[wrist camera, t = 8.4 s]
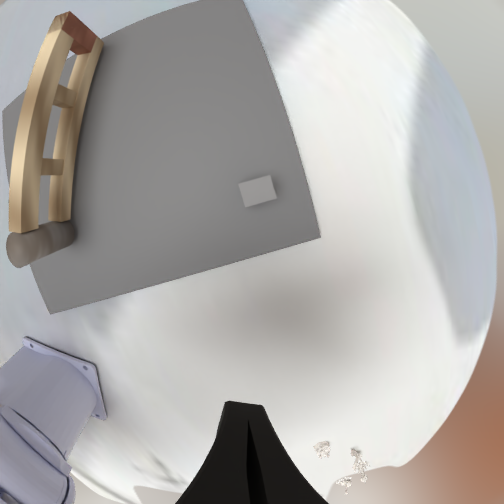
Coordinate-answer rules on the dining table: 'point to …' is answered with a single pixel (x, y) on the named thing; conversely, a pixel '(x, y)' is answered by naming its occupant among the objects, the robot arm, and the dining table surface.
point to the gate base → (173, 158)
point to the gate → (33, 140)
